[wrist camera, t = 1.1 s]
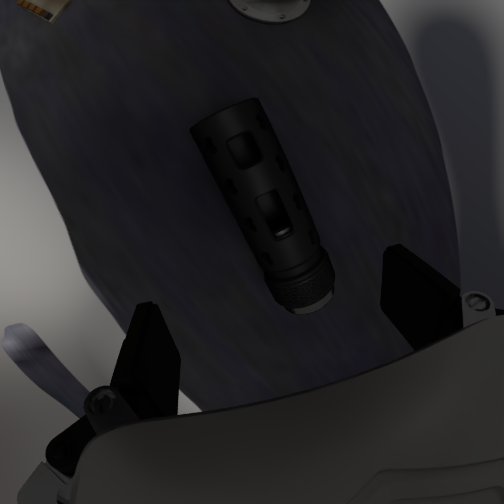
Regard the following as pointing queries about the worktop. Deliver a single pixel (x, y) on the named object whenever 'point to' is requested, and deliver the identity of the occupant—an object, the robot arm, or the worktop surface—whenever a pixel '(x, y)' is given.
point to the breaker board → (45, 8)
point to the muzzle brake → (267, 204)
